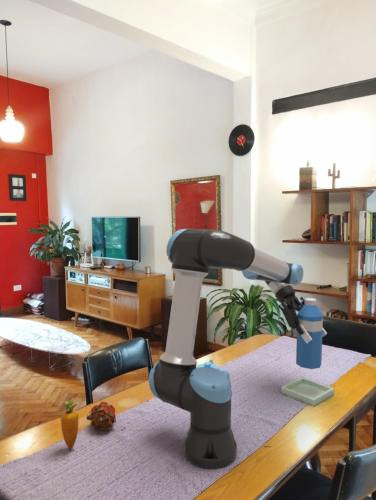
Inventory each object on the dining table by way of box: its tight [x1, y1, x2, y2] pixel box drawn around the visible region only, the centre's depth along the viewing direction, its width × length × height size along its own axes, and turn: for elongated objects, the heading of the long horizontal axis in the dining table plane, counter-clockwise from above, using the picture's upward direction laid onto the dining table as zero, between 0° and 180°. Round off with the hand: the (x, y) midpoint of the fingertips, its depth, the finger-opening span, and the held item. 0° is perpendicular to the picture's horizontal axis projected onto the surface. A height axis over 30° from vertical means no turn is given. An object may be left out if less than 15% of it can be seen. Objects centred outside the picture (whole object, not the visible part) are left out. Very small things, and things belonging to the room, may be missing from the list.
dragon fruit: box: [85, 401, 117, 431], centre depth 128 cm, size 8×8×12 cm
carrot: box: [60, 398, 79, 450], centre depth 115 cm, size 5×5×15 cm
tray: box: [280, 376, 335, 408], centre depth 150 cm, size 14×14×2 cm
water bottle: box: [295, 297, 324, 370], centre depth 148 cm, size 9×9×25 cm
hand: (317, 338), depth 146 cm, fingers closed on water bottle, 9 cm apart
